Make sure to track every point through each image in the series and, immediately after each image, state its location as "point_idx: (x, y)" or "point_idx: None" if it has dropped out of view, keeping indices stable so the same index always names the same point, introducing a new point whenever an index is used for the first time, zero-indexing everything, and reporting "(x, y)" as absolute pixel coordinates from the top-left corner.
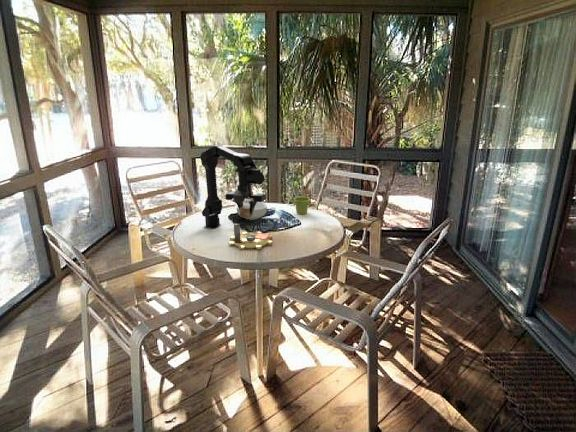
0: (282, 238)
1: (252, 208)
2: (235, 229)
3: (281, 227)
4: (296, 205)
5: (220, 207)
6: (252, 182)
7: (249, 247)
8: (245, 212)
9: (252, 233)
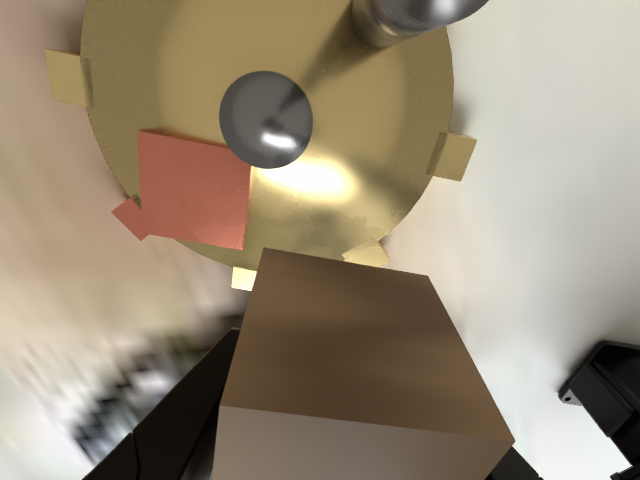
0: (59, 227)
1: (132, 447)
2: None
3: (161, 395)
4: None
5: None
6: None
7: None
8: (326, 324)
9: (295, 250)
